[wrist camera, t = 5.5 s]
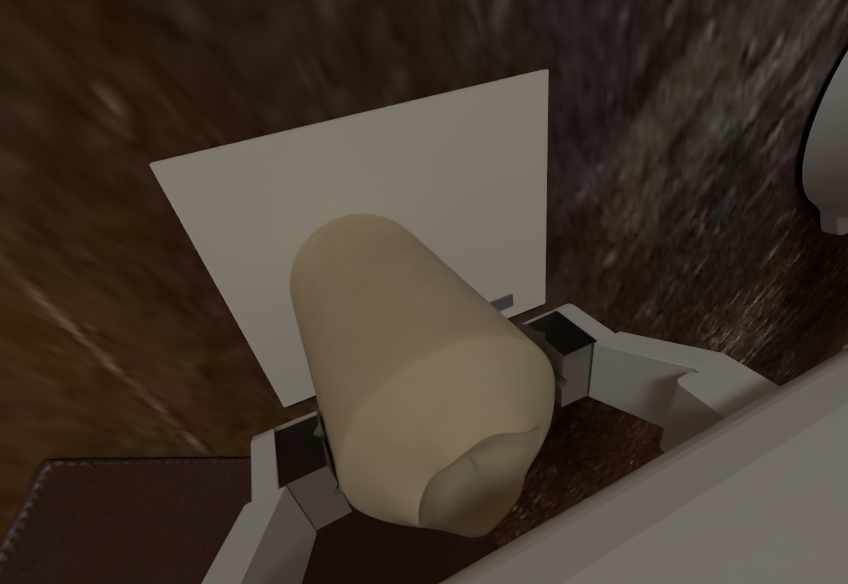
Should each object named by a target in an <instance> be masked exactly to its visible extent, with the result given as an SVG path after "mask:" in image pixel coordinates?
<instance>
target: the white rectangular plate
mask: <svg viewBox="0 0 848 584" xmlns="http://www.w3.org/2000/svg"><path fill="white" fill-rule="evenodd" d="M547 130H548V69H547V70H539V71H535V72H531V73H527V74H522V75H518V76H514V77H510V78H506V79H501V80H497V81H493V82H489V83H485V84H480V85H476V86H472V87H468V88H464V89H459V90H455V91H451V92H447V93H443V94H438V95H434V96H430V97H426V98H422V99H417V100H413V101H409V102H405V103H401V104H396V105H392V106H388V107H384V108H380V109H375V110H371V111H367V112H363V113H359V114H354V115H350V116H346V117H342V118H338V119H333V120H329V121H325V122H321V123H317V124H312V125H308V126H304V127H300V128H295V129H291V130H287V131H283V132H279V133H274V134H270V135H266V136H262V137H258V138H253V139H249V140H245V141H241V142H237V143H232V144H228V145H224V146H220V147H216V148H211V149H207V150H203V151H199V152H195V153H190V154H186V155H182V156H178V157H174V158H169V159H165V160H161V161H157V162H153V163H151V164H150V167H151V169H152V170H153V172H154V174H155V176H156V178H157V179H158V181H159V183H160V185H161V187H162V188H163V190H164V192H165V194H166V196H167V197H168V199H169V201H170V203H171V205H172V206H173V208H174V210H175V212H176V214H177V215H178V217H179V219H180V221H181V223H182V224H183V226H184V228H185V230H186V232H187V233H188V235H189V237H190V239H191V241H192V242H193V244H194V246H195V248H196V250H197V251H198V253H199V255H200V257H201V258H202V260H203V262H204V264H205V266H206V267H207V269H208V271H209V273H210V275H211V276H212V278H213V280H214V282H215V284H216V285H217V287H218V289H219V291H220V293H221V294H222V296H223V298H224V300H225V302H226V303H227V305H228V307H229V309H230V311H231V312H232V314H233V316H234V318H235V320H236V321H237V323H238V325H239V327H240V329H241V330H242V332H243V334H244V336H245V338H246V339H247V341H248V343H249V345H250V347H251V348H252V350H253V352H254V354H255V356H256V357H257V359H258V361H259V363H260V365H261V366H262V368H263V370H264V372H265V374H266V375H267V377H268V379H269V381H270V383H271V384H272V386H273V388H274V390H275V392H276V393H277V395H278V397H279V399H280V401H281V402H282V404H283V406H284V408H285V407H287V406H290V405H292V404H295V403H297V402H300V401H302V400H305V399H307V398H310V397H312V396H315V395H316V394H315V390H314V386H313V382H312V378H311V374H310V370H309V367H308V363H307V359H306V355H305V351H304V347H303V343H302V339H301V335H300V332H299V328H298V324H297V320H296V316H295V312H294V308H293V304H292V299H291V295H290V275H291V270H292V265H293V262H294V260H295V257H296V255H297V253H298V251H299V249H300V248H301V246H302V245H303V244H304V242H305V241H306V240H307V239H308V238H309V237H310V236H311V235H312V234H313V233H314V232H315V231H316V230H318V229H319V228H320V227H322V226H323V225H325V224H327V223H328V222H331V221H333V220H335V219H337V218H341V217H344V216H348V215H354V214H373V215H378V216H382V217H385V218H387V219H390V220H393V221H395V222H396V223H398V224H400V225H401V226H403V227H404V228H405V229H407V230H408V231H409V232H410V233H412V234H413V235H414V236H415V237H416V238H417V239H419V240H420V241H421V242H422V243H423V244H424V245H425V246H426V247H428V248H429V249H430V250H431V251H432V252H433V253H434V254H435V255H437V256H438V257H439V258H440V259H441V260H442V261H443V262H444V263H445V264H447V265H448V266H449V267H450V268H451V269H452V270H453V271H454V272H456V273H457V274H458V275H459V276H460V277H461V278H462V279H463V280H464V281H466V282H467V283H468V284H469V285H470V286H471V287H472V288H473V289H475V290H476V291H477V292H478V293H479V294H480V295H481V296H482V297H483V298H485V299H486V300H487V301H488V302H489V303H490V304H491V305H492V306H494V307H495V308H496V309H497V310H498V311H499V312H500V313H501V314H502V315H504V316H505V317H506V318H510V317H512V316H515V315H517V314H520V313H522V312H525V311H527V310H530V309H532V308H535V307H537V306H540V305H542V304H545V271H546V200H547Z"/></svg>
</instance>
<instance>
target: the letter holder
mask: <svg viewBox="0 0 848 584" xmlns="http://www.w3.org/2000/svg"><path fill="white" fill-rule="evenodd" d="M250 502H252V490H251V457H239V458H229V457H227V458H222V457H210V458H134V459H47V460H43V461H42V462H41V463H40V465H39V466H38V467H37V468H36V470H35V472H34V473H33V475H32V477H31V478H30V481H29V484H28V488H27V490H26V493H25V495H24V496H23V498H22V500H21V502H20V504H19V506H18V508H17V510H16V512H15V514H14V516H13V518H12V520H11V522H10V523H9V525H8V527H7V529H6V531H5V533H4V534H3V536H2V538H1V540H0V584H201V583H202V581H203V580H204V578H205V576H206V574H207V572H208V571H209V569H210V567H211V565H212V563H213V562H214V560H215V558H216V556H217V554H218V552H219V551H220V549H221V547H222V545H223V543H224V542H225V540H226V538H227V536H228V534H229V533H230V531H231V529H232V527H233V525H234V524H235V522H236V520H237V518H238V516H239V514H240V513H241V511H242V509H243V507H244V505H246V504H248V503H250ZM350 505H351V504H350ZM351 509H352V512H350V513H348V514H346V515H344V516H343V517H341V518H339V519H337V520H335V521H333V522H331V523H329V524H328V525H326V526H324V527H322V528H320V529H318V530H316V532H317V534H316V538H315V541H314V544H313V548H312V551H311V554H310V558H309V561H308V564H307V568H306V571H305V574H304V578H303V581H302V584H439V583H440V582H442V581H444V580H446V579H447V578H449V577H451V576H452V575H454V574H456V573H458V572H459V571H461V570H463V569H465V568H466V567H468V566H470V565H472V564H473V563H475V562H477V561H478V560H480V559H482V558H484V557H485V556H487V555H489V554H491V553H492V552H494V551H496V550H498V549H499V548H500V547H499V545H498V543H497V541H496V539H495V537H494V536H493V534H492V531H491V532H489V533H488V534H486V535H485V536H481V537H478V538H470V537H465V536H461V535H458V534H455V533H451V532H447V531H443V530H437V529H430V528H421V527H420V528H418V527H411V526H404V525H399V524H395V523H390V522H387V521H383V520H380V519H377V518H374V517H371V516H369V515H367V514H364V513H362V512H360V511H359V510H357V509H356V508H354V507H353V506H352V505H351Z"/></svg>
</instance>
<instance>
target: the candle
mask: <svg viewBox="0 0 848 584" xmlns="http://www.w3.org/2000/svg"><path fill="white" fill-rule="evenodd" d="M290 295H291V299H292V304H293V308H294V312H295V316H296V320H297V324H298V328H299V332H300V335H301V339H302V343H303V347H304V351H305V355H306V359H307V363H308V367H309V370H310V374H311V378H312V382H313V386H314V390H315V394H316V398H317V402H318V406H319V409H320V413H321V417H322V420H323V424H324V428H325V432H326V436H327V441H328V444H329V448H330V452H331V456H332V460H333V464H334V468H335V472H336V475H337V479H338V483H339V487H340V490H341V491H342V492H343V493H344V495H345V497H346V499H347V501H348V502H349V503H350V504H351V505H352V506H353V507H354V508H356V509H357V510H359V511H360V512H362V513H364V514H367V515H369V516H371V517H374V518H377V519H380V520H383V521H387V522H390V523H395V524H399V525H404V526H411V527H418V528H420V527H421V528H430V529H437V530H443V531H447V532H451V533H455V534H458V535H461V536H465V537H470V538H478V537H481V536H485V535H486V534H488V533H489V532H491V531H492V530H493V529H494V528H495V527H496V526H497V525H498V524H499V523H500V522H501V521H502V520H503V519H504V518H505V516H506V515H507V514H508V513H509V511H510V510H511V509H512V507H513V506H514V505H515V503H516V502H517V500H518V498H519V496H520V494H521V491H522V487H523V483H524V480H525V476H526V474H527V471H528V469H529V467H530V466H531V464H532V462H533V461H534V459H535V458H536V456H537V454H538V452H539V450H540V449H541V446H542V444H543V442H544V440H545V437H546V435H547V433H548V430H549V427H550V424H551V420H552V415H553V408H554V396H555V377H554V371H553V368H552V365H551V362H550V361H549V359H548V357H547V355H546V354H545V353H544V352H543V351H542V350H541V349H540V348H539V347H538V346H537V345H536V344H535V343H534V342H533V341H532V340H530V339H529V338H528V337H527V336H526V335H525V334H524V333H523V332H521V331H520V330H519V329H518V328H517V327H516V326H515V325H514V324H513V323H511V322H510V321H509V320H508V319H507V318H506V317H505V316H504V315H502V314H501V313H500V312H499V311H498V310H497V309H496V308H495V307H494V306H492V305H491V304H490V303H489V302H488V301H487V300H486V299H485V298H483V297H482V296H481V295H480V294H479V293H478V292H477V291H476V290H475V289H473V288H472V287H471V286H470V285H469V284H468V283H467V282H466V281H464V280H463V279H462V278H461V277H460V276H459V275H458V274H457V273H456V272H454V271H453V270H452V269H451V268H450V267H449V266H448V265H447V264H445V263H444V262H443V261H442V260H441V259H440V258H439V257H438V256H437V255H435V254H434V253H433V252H432V251H431V250H430V249H429V248H428V247H426V246H425V245H424V244H423V243H422V242H421V241H420V240H419V239H417V238H416V237H415V236H414V235H413V234H412V233H410V232H409V231H408V230H407V229H405V228H404V227H403V226H401V225H400V224H398V223H396V222H395V221H393V220H390V219H387V218H385V217H382V216H378V215H373V214H354V215H348V216H344V217H341V218H337V219H335V220H333V221H331V222H328V223H327V224H325V225H323V226H322V227H320V228H319V229H318V230H316V231H315V232H314V233H313V234H312V235H311V236H310V237H309V238H308V239H307V240H306V241H305V242H304V244H303V245H302V246H301V248H300V249H299V251H298V253H297V255H296V257H295V260H294V262H293V265H292V270H291V275H290Z"/></svg>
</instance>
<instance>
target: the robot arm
mask: <svg viewBox="0 0 848 584" xmlns="http://www.w3.org/2000/svg"><path fill="white" fill-rule="evenodd" d="M802 181H803V188H804V191H805V194H806V196H807V198H808V199H809V201H810V202H811V203H813V204H814V205H815V206H816V207H817V208H818V209H819V211H820V223H821V229H822V231H823V232H826V233H831V234H836V235H844V234H846V233H848V51H847V53H846V54H845V56H844V58H843V60H842V61H841V63H840V65H839V67H838V69H837V71H836V72H835V74H834V76H833V78H832V80H831V82H830V84H829V86H828V88H827V90H826V93H825V95H824V97H823V99H822V102H821V104H820V106H819V109H818V111H817V114H816V116H815V119H814V122H813V125H812V128H811V131H810V134H809V137H808V141H807V145H806V149H805V154H804V160H803V169H802ZM520 331H521V332H523V333H524V334H525V335H526V336H527V337H528V338H529V339H530V340H532V341H533V342H534V343H535V344H536V345H537V346H538V347H539V348H540V349H541V350H542V351H543V352H544V353H545V354H546V355H547V357H548V359H549V361H550V362H551V365H552V368H553V371H554V377H555V396H554V400H555V401H556V402H557V403H558V404H559V405H560V406H561V407H563V406H565V405H567V404H569V403H571V402H574V401H576V400H578V399H580V398H582V397H584V396H587V395H589V396H590V397H592V398H594V399H597V400H599V401H601V402H604V403H606V404H609V405H611V406H613V407H616V408H618V409H621V410H623V411H625V412H628V413H630V414H632V415H635V416H637V417H640V418H642V419H644V420H647V421H649V422H651V423H654V424H656V425H659V426H661V427H663V428H664V430H663V433H662V437H661V440H660V449H661V450H662V451H663V452H664V454H662V455H661V456H659V457H657V458H656V459H654V460H652V461H650V462H649V463H647V464H645V465H643V466H642V467H640V468H638V469H636V470H635V471H633V472H631V473H629V474H628V475H626V476H624V477H623V478H621V479H619V480H617V481H616V482H614V483H612V484H610V485H609V486H607V487H605V488H603V489H602V490H600V491H598V492H596V493H595V494H593V495H591V496H590V497H588V498H586V499H584V500H583V501H581V502H579V503H577V504H576V505H574V506H572V507H570V508H569V509H567V510H565V511H564V512H562V513H560V514H558V515H557V516H555V517H553V518H551V519H550V520H548V521H546V522H544V523H543V524H541V525H539V526H537V527H536V528H534V529H532V530H531V531H529V532H527V533H525V534H524V535H522V536H520V537H518V538H517V539H515V540H513V541H511V542H510V543H508V544H506V545H505V546H503V547H501V548H499V549H498V550H496V551H494V552H492V553H491V554H489V555H487V556H485V557H484V558H482V559H480V560H478V561H477V562H475V563H473V564H472V565H470V566H468V567H466V568H465V569H463V570H461V571H459V572H458V573H456V574H454V575H452V576H451V577H449V578H447V579H446V580H444V581H442V582H440V583H439V584H848V348H846V349H844V350H843V351H841V352H839V353H838V354H836V355H834V356H832V357H831V358H829V359H827V360H825V361H824V362H822V363H820V364H818V365H817V366H815V367H813V368H812V369H810V370H808V371H806V372H805V373H803V374H801V375H799V376H798V377H796V378H794V379H792V380H791V381H789V382H787V383H786V384H784V385H782V386H778V385H777V384H775V383H773V382H771V381H770V380H768V379H766V378H765V377H763V376H761V375H759V374H758V373H756V372H754V371H753V370H751V369H749V368H747V367H746V366H744V365H742V364H741V363H739V362H737V361H735V360H734V359H732V358H730V357H729V356H727V355H725V354H723V353H719V352H714V351H709V350H704V349H700V348H695V347H690V346H685V345H681V344H676V343H671V342H666V341H662V340H657V339H652V338H647V337H643V336H638V335H633V334H628V333H624V332H618V333H616V334H615V333H613V332H612V331H611V330H609V329H608V328H606V327H605V326H603V325H602V324H600V323H599V322H598V321H596V320H595V319H593V318H592V317H590V316H589V315H587V314H586V313H584V312H583V311H582V310H580V309H579V308H577V307H576V306H574V305H572V304H566V305H564V306H561V307H559V308H557V309H554V310H553V311H550V312H548V313H545V314H543V315H541V316H538V317H536V318H534V319H532V320H529V321H527V322H525V323H522V324H521V326H520ZM251 490H252V502H250V503H248V504H246V505H244V507H243V509H242V511H241V513H240V514H239V516H238V518H237V520H236V522H235V524H234V525H233V527H232V529H231V531H230V533H229V534H228V536H227V538H226V540H225V542H224V543H223V545H222V547H221V549H220V551H219V552H218V554H217V556H216V558H215V560H214V562H213V563H212V565H211V567H210V569H209V571H208V572H207V574H206V576H205V578H204V580H203V581H202V583H201V584H302V581H303V578H304V574H305V571H306V568H307V564H308V561H309V558H310V554H311V551H312V548H313V544H314V541H315V538H316V534H317V532H316V530H318V529H320V528H322V527H324V526H326V525H328V524H329V523H331V522H333V521H335V520H337V519H339V518H341V517H343V516H344V515H346V514H348V513H350V512H352V509H351V505H350V503H349V502H348V501H347V499H346V497H345V495H344V493H343V492H342V491H341V490H340V487H339V483H338V479H337V475H336V472H335V468H334V464H333V460H332V456H331V452H330V448H329V444H328V441H327V436H326V432H325V428H324V424H323V420H322V417H321V416H320V414H319V412H318V411H315V412H313V413H310V414H308V415H305V416H303V417H300V418H298V419H295V420H293V421H290V422H288V423H285V424H283V425H280V426H278V427H275V428H274V429H272V430H269V431H266V432H264V433H261V434H259V435H256V436H254V437H253V438H252V441H251Z"/></svg>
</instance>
